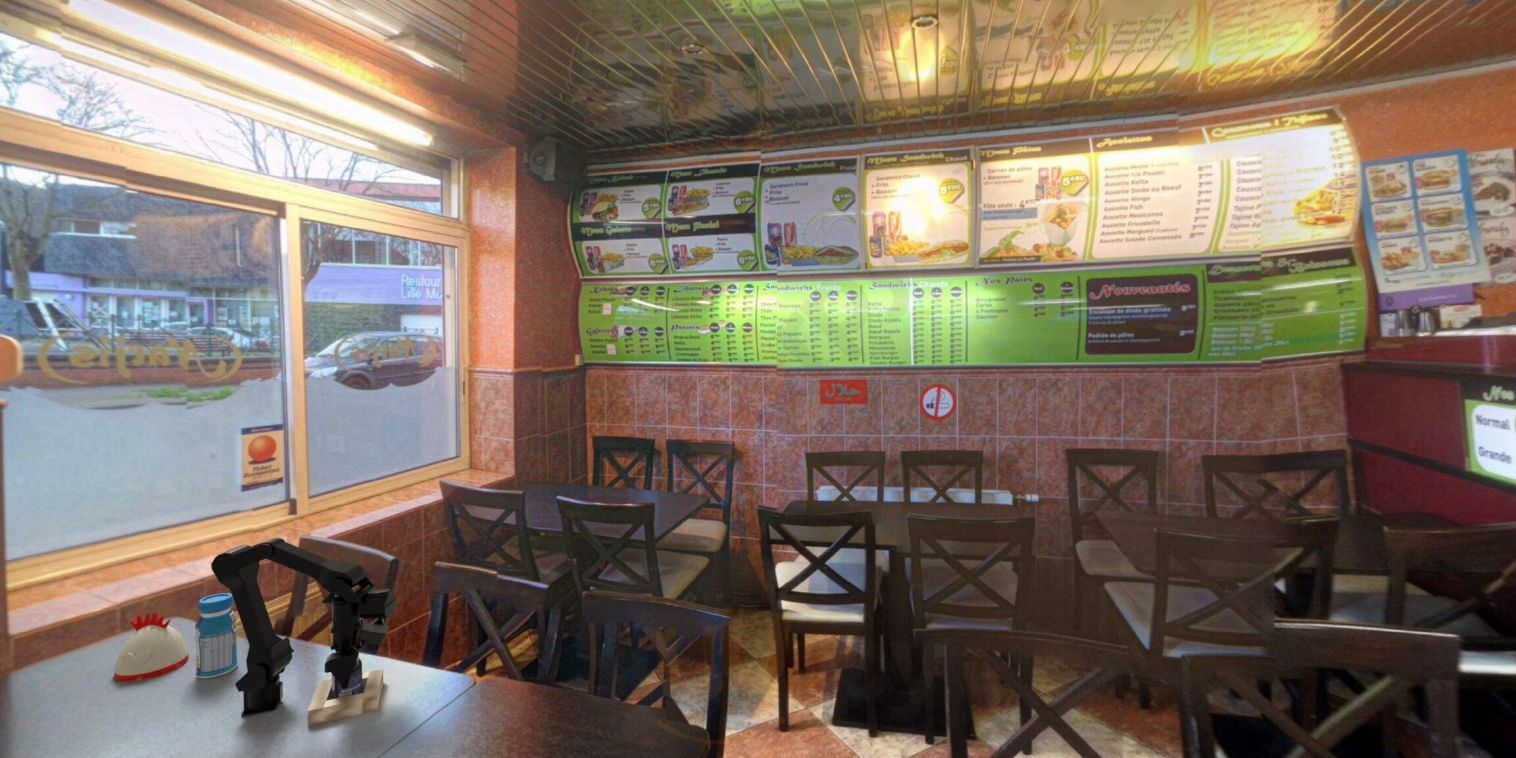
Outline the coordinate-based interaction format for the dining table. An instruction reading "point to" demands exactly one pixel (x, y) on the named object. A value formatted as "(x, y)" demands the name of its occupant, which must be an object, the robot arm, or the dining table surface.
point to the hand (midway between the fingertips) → (347, 681)
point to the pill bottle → (353, 685)
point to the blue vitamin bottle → (216, 636)
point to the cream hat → (150, 650)
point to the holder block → (345, 700)
